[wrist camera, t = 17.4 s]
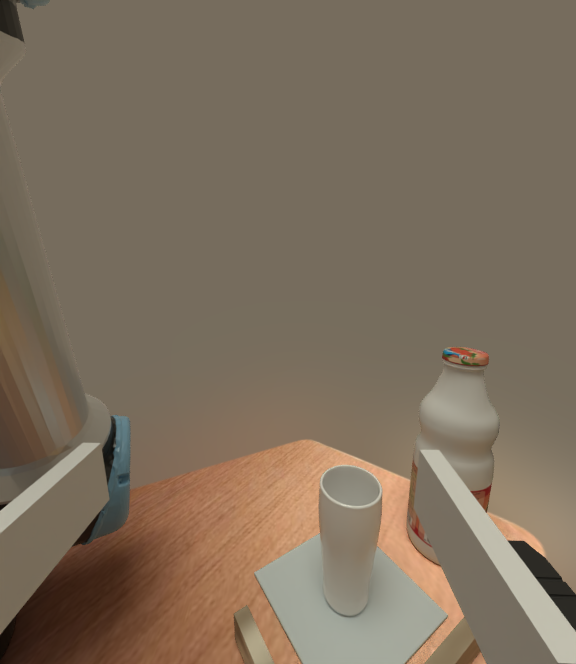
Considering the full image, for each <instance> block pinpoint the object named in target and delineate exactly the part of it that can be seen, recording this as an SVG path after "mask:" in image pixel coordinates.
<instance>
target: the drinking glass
mask: <svg viewBox="0 0 576 664" xmlns="http://www.w3.org/2000/svg"><path fill="white" fill-rule="evenodd" d="M381 516H382V486H381V484H380V482H379V481H378V479H377V478H376V477H375V476H374V475H373V474H372V473H370V472H369V471H367V470H365V469H363V468H360V467H357V466H352V465H339V466H334V467H332V468H330V469H328V470H326V471H325V472H324V473H323V475H322V477H321V479H320V488H319V528H320V541H321V554H322V568H323V592H324V596H325V598H326V600H327V602H328V604H329V605H330V606H331V607H332V608H333V609H334V610H335V611H336V612H338V613H340V614H343V615H347V616H352V615H356V614H358V613H360V612H361V611H362V610H363V609H364V608H365V607H366V605H367V602H368V598H369V586H370V580H371V575H372V569H373V564H374V558H375V553H376V548H377V543H378V537H379V532H380V525H381Z"/></svg>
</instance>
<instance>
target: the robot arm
mask: <svg viewBox="0 0 576 664" xmlns="http://www.w3.org/2000/svg"><path fill="white" fill-rule="evenodd" d="M49 1H50V0H0V88H1V84H2V82H3V79H4V77H5V76H6V75H7V74H8V72H10V70H11V69H12V68H13V67H14V66H15V65H16V64H17V63H18V62H19V61H20V60H21V59H22V58H23V57H24V55H25V54H26V49H25V43H24V39H23V35H22V30H21V26H20V21H19V17H18V12H17V5H16V3H17V2H18V3H22V4H24V6H25V7H29V8H32V9H34V8H35V7H36V6H44V5H46V4H48V3H49ZM129 499H130V420H129V418H128V417H126V416H118V415H115V416H110V413H109V411H108V408H107V407H106V406H105V405H104V403H103V402H101V401H100V400H99V399H97V398H95V397H94V396H91V395H89V394H85V392H84V389H83V385H82V382H81V378H80V374H79V371H78V367H77V364H76V360H75V356H74V353H73V349H72V346H71V342H70V339H69V335H68V331H67V328H66V324H65V320H64V317H63V313H62V310H61V306H60V303H59V299H58V295H57V292H56V288H55V285H54V281H53V277H52V274H51V270H50V266H49V263H48V259H47V256H46V252H45V249H44V245H43V241H42V238H41V234H40V231H39V227H38V223H37V220H36V216H35V213H34V209H33V205H32V202H31V198H30V195H29V191H28V188H27V184H26V180H25V177H24V173H23V169H22V166H21V162H20V159H19V155H18V151H17V148H16V145H15V141H14V137H13V133H12V130H11V126H10V123H9V119H8V116H7V112H6V108H5V105H4V101H3V97H2V94H1V90H0V659H1V658H2V656H3V654H4V652H5V650H6V648H7V646H8V644H9V642H10V639H11V637H12V634H13V631H14V627H15V620H16V614H17V613H18V612H19V611H20V609H21V608H22V607H23V606H24V604H25V603H26V602H27V601H28V600H29V598H30V597H31V596H32V595H33V593H34V592H35V591H36V590H37V588H38V587H39V586H40V585H41V583H42V582H43V581H44V580H45V579H46V577H47V576H48V575H49V574H50V572H51V571H52V570H53V569H54V567H55V566H56V565H57V564H58V563H59V561H60V560H61V559H62V558H63V556H64V555H65V554H66V553H67V551H68V550H69V549H70V548H71V547H72V546H75V545H78V544H82V545H86V544H89V543H91V542H92V541H93V540H94V539H97V538H99V537H102V536H104V535H107V534H110V533H112V532H115V531H117V530H118V529H120V528H121V527H122V526H123V525H124V523H125V522H126V520H127V518H128V515H129ZM414 510H415V512H416V514H417V516H418V518H419V520H420V523H421V525H422V527H423V529H424V531H425V533H426V535H427V537H428V540H429V542H430V544H431V546H432V548H433V550H434V552H435V555H436V557H437V559H438V561H439V563H440V565H441V567H442V569H443V572H444V574H445V576H446V578H447V580H448V582H449V584H450V587H451V589H452V591H453V593H454V595H455V597H456V599H457V601H458V604H459V606H460V608H461V610H462V612H463V614H464V616H465V619H466V621H467V623H468V625H469V627H470V629H471V631H472V633H473V636H474V638H475V640H476V642H477V644H478V646H479V648H480V651H481V653H482V655H483V657H484V659H485V661H486V663H487V664H576V594H575V593H574V592H573V591H572V590H571V588H570V587H569V586H568V585H567V583H566V582H563V581H562V578H561V576H560V575H559V574H558V573H557V572H556V570H555V569H554V568H553V567H552V566H551V564H550V563H549V562H548V561H547V560H546V558H545V557H543V556H542V555H541V554H540V553H538V552H537V551H536V550H535V549H533V548H532V547H531V546H530V545H528V544H527V543H526V542H525V541H507V540H506V538H505V537H504V536H503V534H502V533H501V532H500V530H499V529H498V528H497V526H496V525H495V524H494V522H493V521H492V520H491V518H490V517H489V516H488V514H487V513H486V512H485V510H484V509H483V508H482V506H481V505H480V504H479V502H478V501H477V500H476V498H475V497H474V496H473V494H472V493H471V492H470V490H469V489H468V488H467V486H466V485H465V484H464V482H463V481H462V480H461V478H460V477H459V476H458V474H457V473H456V472H455V470H454V469H453V468H452V466H451V465H450V464H449V462H448V461H447V460H446V458H445V457H444V456H443V455H442V453H441V452H440V451H439V450H420V452H419V461H418V471H417V480H416V490H415V499H414Z"/></svg>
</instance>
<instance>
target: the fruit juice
mask: <svg viewBox="0 0 576 664" xmlns="http://www.w3.org/2000/svg"><path fill="white" fill-rule="evenodd" d="M442 358H443V360H442V361H443V363H444V369H443V371H442V373H441V375H440V377H439V379H438V381H437V383H436V385H435V386H434V388H433V389H432V390H431V391H430V392H429V393H428V395H426V397H424V399H423V400H422V402H421V404H420V408H419V422H420V427H421V431H420V433H419V434H418V436H417V438H416V441H415V446H414V452H413V463H412V472H411V482H410V492H409V502H408V512H407V531H408V535H409V538H410V540H411V542H412V543H413V545H414V546H415V547H416V548H417V550H418V551H419V552H420V553H421V554H423V555H424V556H425V557H426V558H428V559H429V560H431V561H433V562H434V563H436V564H438V565H440V563H439V561H438V559H437V557H436V555H435V552H434V550H433V548H432V546H431V544H430V542H429V540H428V537H427V535H426V533H425V531H424V529H423V527H422V525H421V523H420V520H419V518H418V516H417V514H416V512H415V510H414V499H415V490H416V480H417V471H418V461H419V452H420V450H439V451H440V452H441V453H442V455H443V456H444V457H445V458H446V460H447V461H448V462H449V464H450V465H451V466H452V468H453V469H454V470H455V472H456V473H457V474H458V476H459V477H460V478H461V480H462V481H463V482H464V484H465V485H466V486H467V488H468V489H469V490H470V492H471V493H472V494H473V496H474V497H475V498H476V500H477V501H478V502H479V504H480V505H481V506H482V508H483V509H484V510H485V512H486V513H487V508H488V502H489V496H490V491H491V485H492V480H493V473H494V456H493V453H492V450H491V448H492V445H493V444H494V441H495V440H496V438H497V436H498V433H499V426H500V422H499V417H498V414H497V412H496V410H495V409H494V407H493V405H492V404H491V402H490V400H489V397H488V394H487V390H486V386H485V380H484V370H485V369H486V368H487V365H488V362H489V356H488V354H487V353H485V352H482V351H480V350H476V349H470V348H464V347H450V348H446V349H444V351H443V356H442Z"/></svg>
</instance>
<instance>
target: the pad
mask: <svg viewBox="0 0 576 664" xmlns="http://www.w3.org/2000/svg"><path fill="white" fill-rule="evenodd" d="M254 575H255V577H256V579H257V580H258V582H259V584H260V586H261V588H262V590H263V592H264V594H265V595H266V597H267V599H268V601H269V603H270V605H271V607H272V609H273V610H274V612H275V614H276V616H277V618H278V620H279V622H280V623H281V625H282V627H283V629H284V631H285V633H286V635H287V637H288V638H289V640H290V642H291V644H292V646H293V648H294V650H295V652H296V653H297V655H298V657H299V659H300V661H301V663H302V664H406V663H407V662H408V661H409V660H410V658H411V657H412V656H413V655H414V654H415V653H416V652H417V651H418V650H419V648H420V647H421V646H422V645H423V644H424V643H425V642H426V641H427V640H428V638H429V637H430V636H431V635H432V634H433V633H434V632H435V631H436V630H437V628H438V627H439V626H440V625H441V624H442V623H443V622H444V621H445V620H446V618H447V617H448V615H447V614H446V613H445V612H444V611H443V610H442V609H441V608H440V607H439V606H438V605H437V604H436V603H435V602H434V601H433V600H432V599H431V598H430V597H429V596H428V595H427V594H426V593H425V592H424V591H423V590H422V589H421V588H420V587H419V586H418V585H417V584H416V583H415V582H414V581H413V580H412V579H410V578H409V577H408V576H407V575H406V574H405V573H404V572H403V571H402V570H401V569H400V568H399V567H398V566H397V565H396V564H395V563H394V562H393V561H392V560H391V559H390V558H389V557H388V556H387V555H386V554H385V553H384V552H383V551H382V550H381V549H380V548H379V547H378V546H377V548H376V553H375V558H374V564H373V569H372V575H371V580H370V586H369V598H368V602H367V605H366V607H365V608H364V609H363V610H362V611H361V612H360V613H358V614H356V615H352V616H347V615H343V614H340V613H338V612H336V611H335V610H334V609H333V608H332V607H331V606H330V605H329V604H328V602H327V600H326V598H325V596H324V592H323V568H322V554H321V541H320V533H319V534H318V535H316V536H314V537H313V538H311V539H309V540H308V541H306V542H304V543H303V544H301V545H299V546H298V547H296V548H294V549H293V550H291V551H289V552H288V553H286V554H284V555H283V556H281V557H279V558H278V559H276V560H274V561H273V562H271V563H270V564H268V565H266V566H265V567H263V568H261V569H260V570H258V571H256V572H255V573H254Z"/></svg>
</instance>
